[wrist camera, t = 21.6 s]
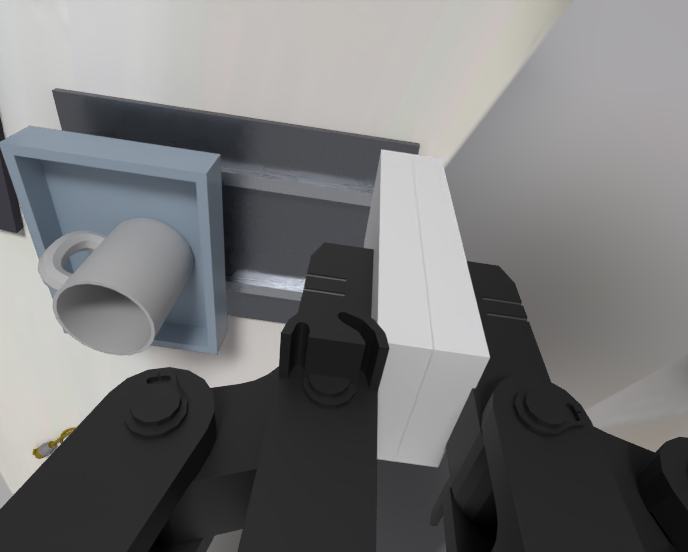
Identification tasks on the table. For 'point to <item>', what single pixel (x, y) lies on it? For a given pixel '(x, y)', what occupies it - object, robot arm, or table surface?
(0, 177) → the notebook
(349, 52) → the table surface
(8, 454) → the table surface
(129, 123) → the track
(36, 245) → the cart
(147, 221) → the cup
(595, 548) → the robot arm
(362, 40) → the table surface
